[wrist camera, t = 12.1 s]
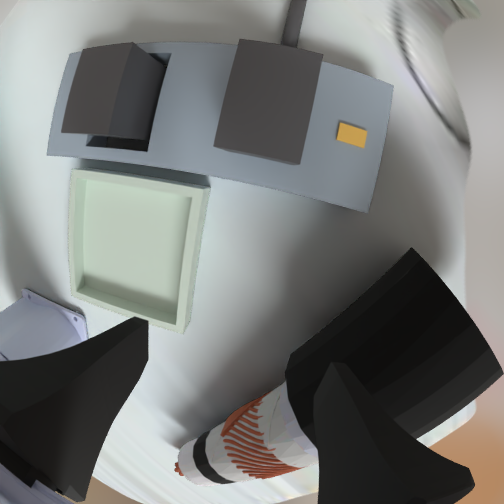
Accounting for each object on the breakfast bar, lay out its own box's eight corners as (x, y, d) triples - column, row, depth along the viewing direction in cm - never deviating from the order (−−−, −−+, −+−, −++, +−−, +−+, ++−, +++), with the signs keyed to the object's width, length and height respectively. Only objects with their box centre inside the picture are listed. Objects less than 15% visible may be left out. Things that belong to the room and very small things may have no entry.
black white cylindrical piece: (182, 422, 31) (127, 456, 22) (406, 244, 18) (418, 250, 9) (229, 474, 28) (182, 516, 19) (478, 337, 15) (519, 403, 6)
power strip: (67, 154, 17) (7, 158, 11) (118, -12, 12) (81, -44, 6) (355, 207, 17) (395, 229, 11) (388, 11, 12) (421, -31, 6)
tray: (83, 287, 21) (71, 295, 19) (86, 167, 17) (71, 168, 16) (190, 321, 20) (183, 334, 19) (210, 187, 17) (203, 189, 16)
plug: (115, 137, 17) (60, 132, 11) (130, 73, 15) (82, 49, 9) (156, 141, 17) (107, 134, 11) (173, 73, 15) (133, 42, 9)
